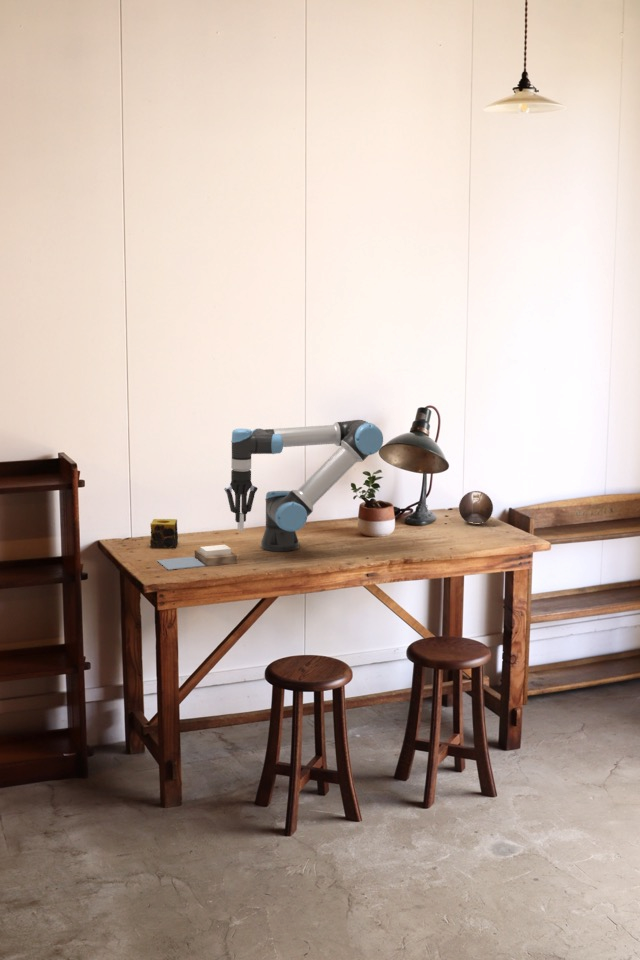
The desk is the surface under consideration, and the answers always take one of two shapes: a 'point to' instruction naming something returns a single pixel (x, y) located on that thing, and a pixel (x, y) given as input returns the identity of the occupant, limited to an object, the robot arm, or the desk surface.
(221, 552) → the tile
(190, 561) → the mat
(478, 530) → the desk surface
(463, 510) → the bronze metallic ball
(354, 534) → the desk surface
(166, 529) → the candle
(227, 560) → the deck
